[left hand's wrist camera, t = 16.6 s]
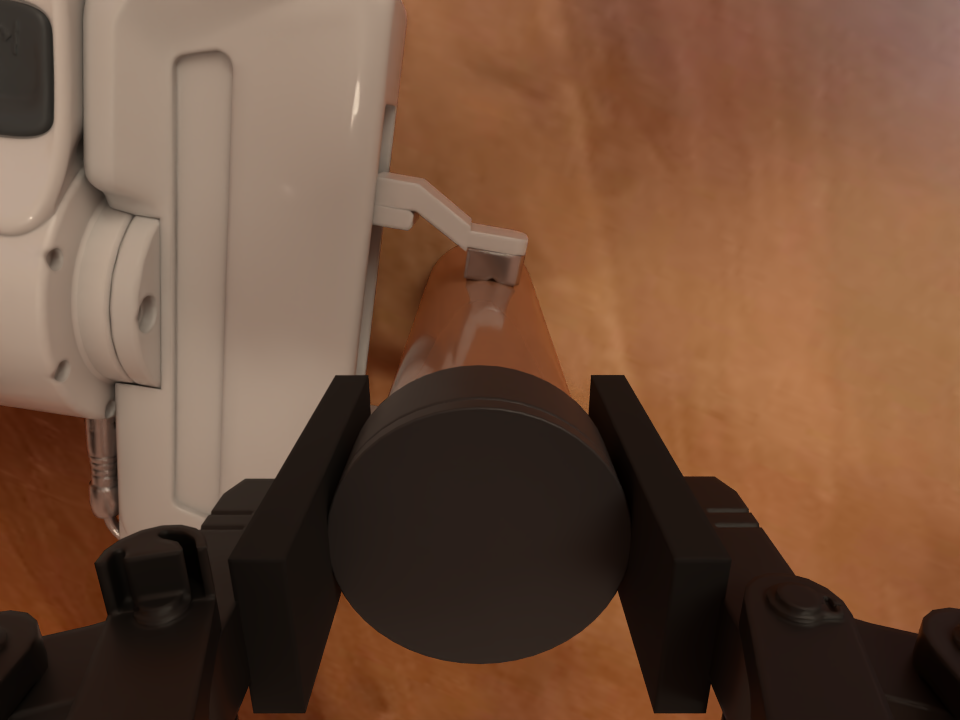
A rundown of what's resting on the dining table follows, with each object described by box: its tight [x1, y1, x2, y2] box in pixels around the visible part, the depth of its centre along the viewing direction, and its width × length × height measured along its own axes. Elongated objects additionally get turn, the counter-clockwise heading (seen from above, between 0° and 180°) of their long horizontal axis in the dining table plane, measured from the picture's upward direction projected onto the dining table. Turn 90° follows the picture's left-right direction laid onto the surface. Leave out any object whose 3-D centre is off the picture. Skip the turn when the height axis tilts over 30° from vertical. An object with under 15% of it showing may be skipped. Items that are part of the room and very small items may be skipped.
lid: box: [327, 365, 632, 664], centre depth 11 cm, size 5×5×2 cm
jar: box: [388, 246, 571, 397], centre depth 19 cm, size 4×4×17 cm
